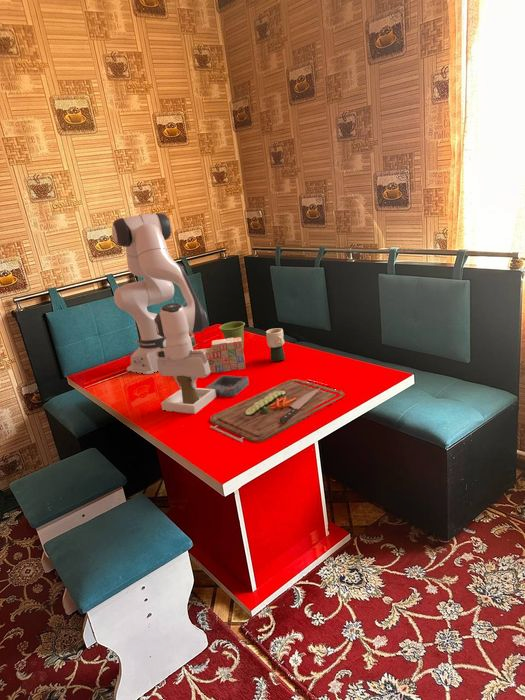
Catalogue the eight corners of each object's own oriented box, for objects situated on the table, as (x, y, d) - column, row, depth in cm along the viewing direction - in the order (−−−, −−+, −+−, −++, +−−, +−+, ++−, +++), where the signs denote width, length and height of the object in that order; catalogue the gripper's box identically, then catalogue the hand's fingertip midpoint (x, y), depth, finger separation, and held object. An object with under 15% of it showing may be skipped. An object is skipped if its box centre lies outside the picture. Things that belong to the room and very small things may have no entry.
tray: (162, 410, 180) (160, 402, 179) (185, 394, 191) (183, 387, 190) (195, 413, 173) (193, 405, 172) (216, 396, 185) (215, 389, 184)
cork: (202, 397, 183) (195, 369, 180) (195, 405, 178) (187, 376, 174) (187, 398, 185) (180, 370, 182) (180, 406, 180) (172, 377, 177)
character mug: (291, 360, 211) (288, 331, 207) (276, 365, 208) (272, 335, 204) (279, 354, 220) (275, 326, 216) (264, 359, 217) (260, 330, 213)
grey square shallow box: (207, 394, 188) (205, 387, 187) (222, 382, 198) (221, 375, 197) (234, 396, 183) (232, 389, 182) (249, 384, 192) (247, 376, 191)
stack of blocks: (194, 376, 209) (189, 348, 206) (195, 370, 215) (190, 343, 212) (245, 368, 210) (241, 340, 206) (245, 363, 216) (241, 336, 212)
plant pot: (221, 347, 242) (217, 324, 239) (245, 342, 244) (242, 320, 241) (225, 354, 231) (221, 330, 228) (250, 349, 233) (247, 325, 230)
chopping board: (298, 379, 192) (297, 371, 191) (353, 394, 172) (353, 386, 171) (200, 424, 166) (199, 416, 165) (252, 449, 146) (251, 439, 145)
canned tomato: (194, 347, 248) (191, 326, 244) (179, 349, 248) (174, 328, 244) (196, 342, 255) (192, 321, 252) (181, 344, 255) (177, 323, 252)
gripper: (210, 347, 174) (216, 385, 178) (162, 347, 183) (169, 382, 187) (200, 353, 168) (207, 392, 173) (151, 352, 178) (159, 389, 182)
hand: (187, 387), depth 180 cm, fingers closed on cork, 4 cm apart
